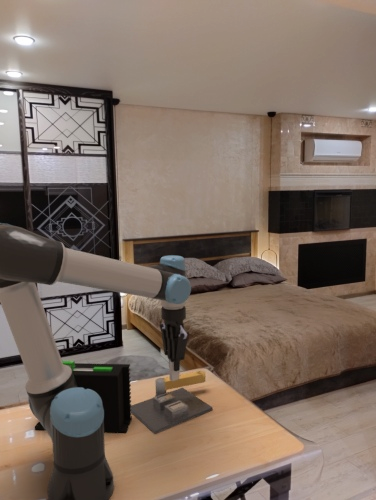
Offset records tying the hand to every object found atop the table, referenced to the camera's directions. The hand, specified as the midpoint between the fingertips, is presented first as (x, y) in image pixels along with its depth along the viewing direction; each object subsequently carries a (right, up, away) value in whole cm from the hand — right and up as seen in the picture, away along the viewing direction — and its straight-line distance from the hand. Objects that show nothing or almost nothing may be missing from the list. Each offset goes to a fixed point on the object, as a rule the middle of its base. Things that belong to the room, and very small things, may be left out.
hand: (174, 379), depth 126 cm
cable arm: (+2, -9, +14) cm, 17 cm away
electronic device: (-28, -13, -1) cm, 31 cm away
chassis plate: (-2, -12, +5) cm, 13 cm away
